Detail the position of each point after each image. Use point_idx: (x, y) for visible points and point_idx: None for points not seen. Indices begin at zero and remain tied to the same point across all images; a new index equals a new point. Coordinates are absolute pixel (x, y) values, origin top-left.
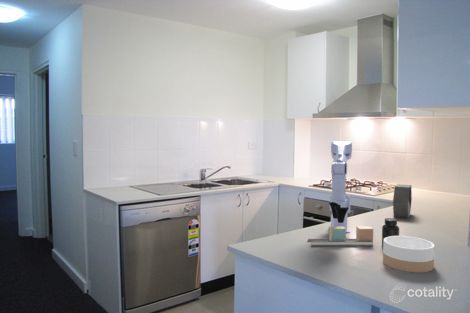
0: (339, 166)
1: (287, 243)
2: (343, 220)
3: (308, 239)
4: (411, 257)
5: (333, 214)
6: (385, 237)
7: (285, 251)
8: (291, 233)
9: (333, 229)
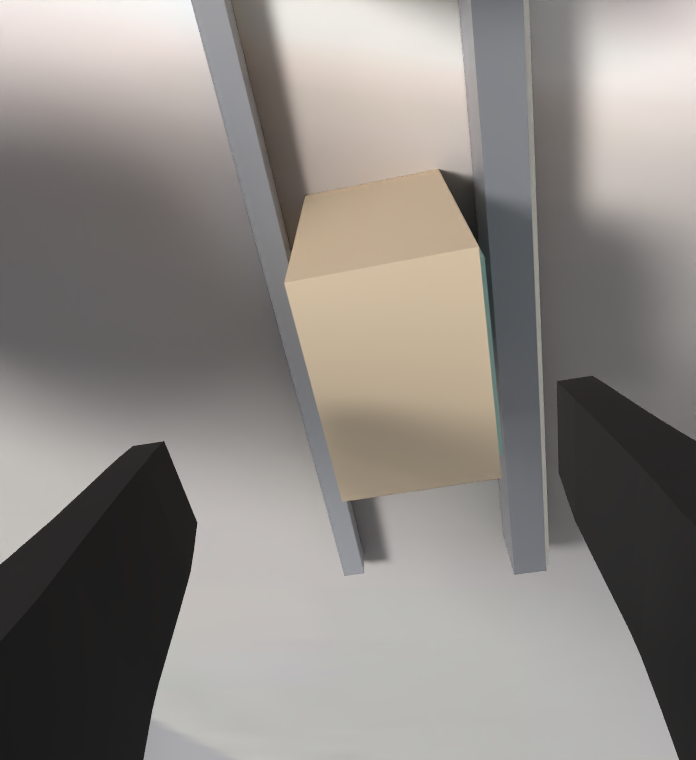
0: None
1: (458, 687)
2: (629, 405)
3: (362, 568)
4: None
5: (172, 601)
6: None
7: None
8: None
9: (497, 447)
